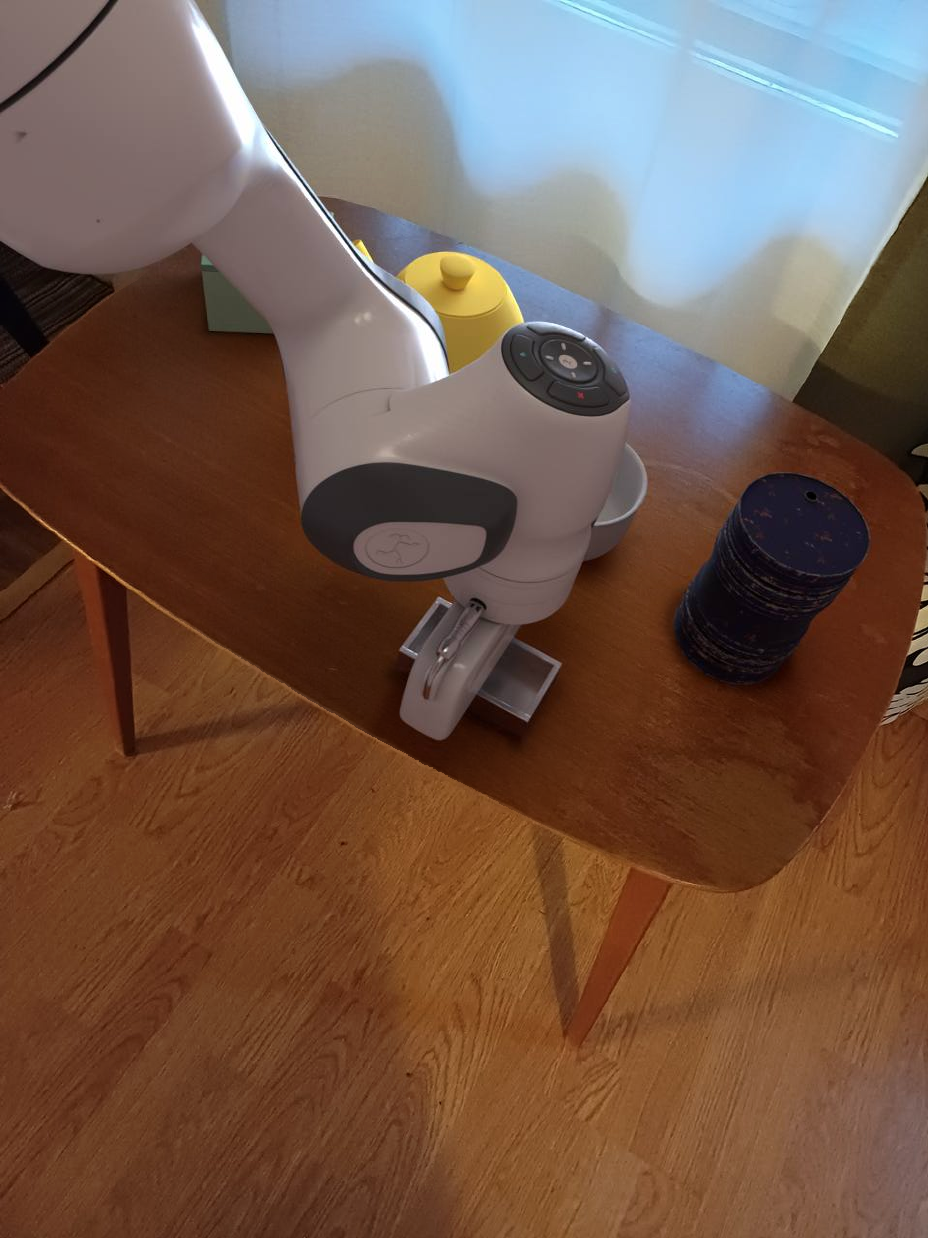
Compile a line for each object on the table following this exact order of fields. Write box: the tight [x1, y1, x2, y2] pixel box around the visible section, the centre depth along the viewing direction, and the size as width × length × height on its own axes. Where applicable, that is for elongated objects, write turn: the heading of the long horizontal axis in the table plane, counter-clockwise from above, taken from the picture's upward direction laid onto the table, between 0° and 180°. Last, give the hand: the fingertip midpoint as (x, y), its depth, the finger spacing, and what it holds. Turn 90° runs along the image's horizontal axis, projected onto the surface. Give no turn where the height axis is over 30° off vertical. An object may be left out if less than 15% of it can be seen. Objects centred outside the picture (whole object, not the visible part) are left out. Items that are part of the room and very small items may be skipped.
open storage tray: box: [395, 596, 563, 741], centre depth 71 cm, size 11×6×3 cm, turn 61°
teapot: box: [351, 238, 525, 374], centre depth 86 cm, size 20×16×14 cm
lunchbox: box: [201, 270, 274, 335], centre depth 92 cm, size 12×10×7 cm
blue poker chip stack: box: [673, 471, 871, 686], centre depth 72 cm, size 10×10×15 cm
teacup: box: [583, 442, 649, 562], centre depth 80 cm, size 14×11×8 cm
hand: (478, 665), depth 71 cm, fingers closed on open storage tray, 6 cm apart
